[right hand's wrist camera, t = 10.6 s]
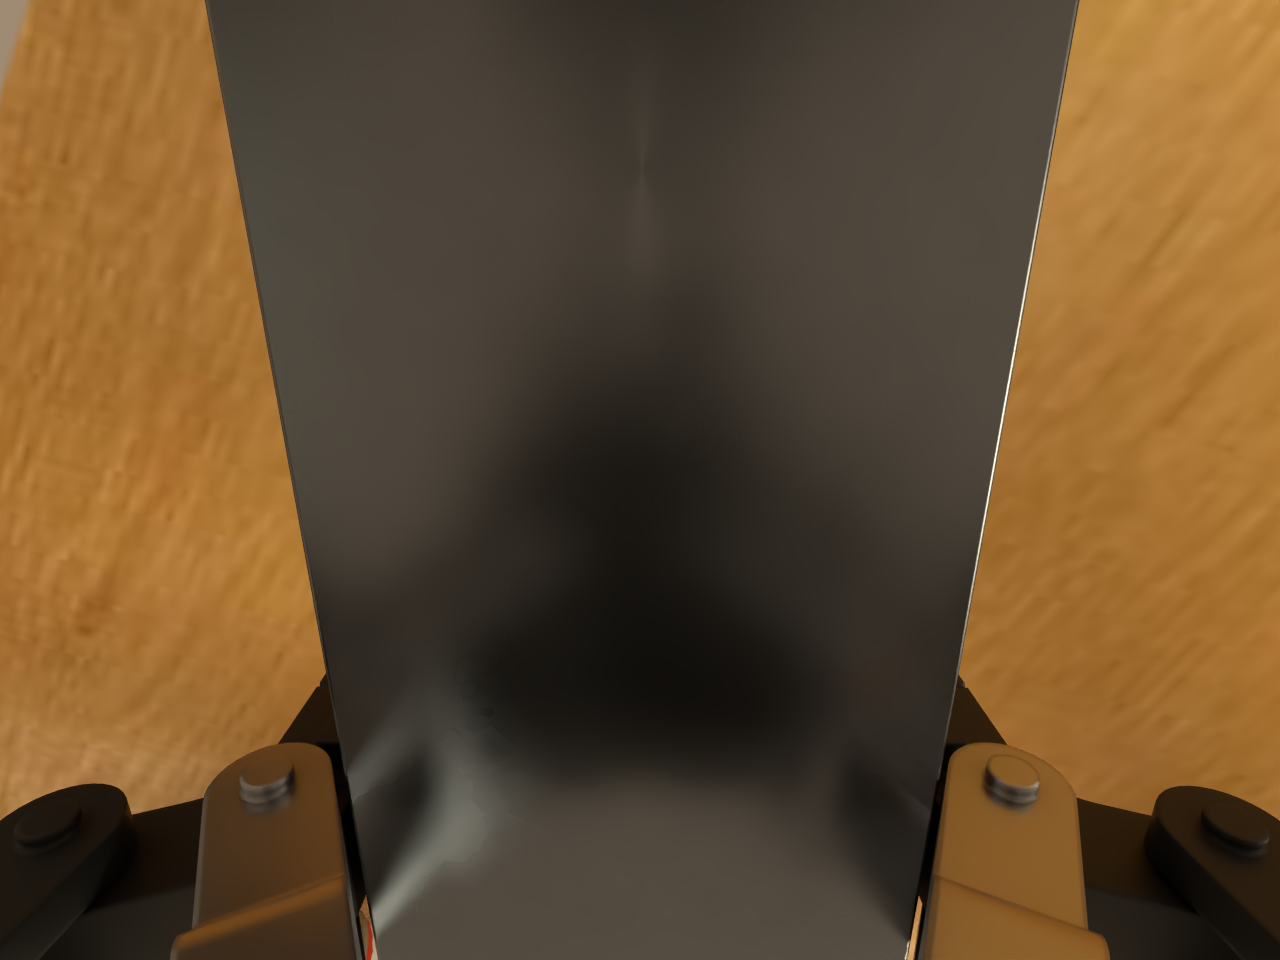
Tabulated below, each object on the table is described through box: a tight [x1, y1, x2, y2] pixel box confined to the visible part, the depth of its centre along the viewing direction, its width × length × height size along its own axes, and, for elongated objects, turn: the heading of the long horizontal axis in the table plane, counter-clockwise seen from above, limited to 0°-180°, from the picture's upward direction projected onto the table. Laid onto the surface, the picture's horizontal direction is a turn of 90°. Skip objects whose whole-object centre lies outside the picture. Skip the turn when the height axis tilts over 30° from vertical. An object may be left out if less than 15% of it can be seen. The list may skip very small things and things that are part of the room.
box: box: [205, 0, 1079, 960], centre depth 11 cm, size 20×6×12 cm, turn 0°
